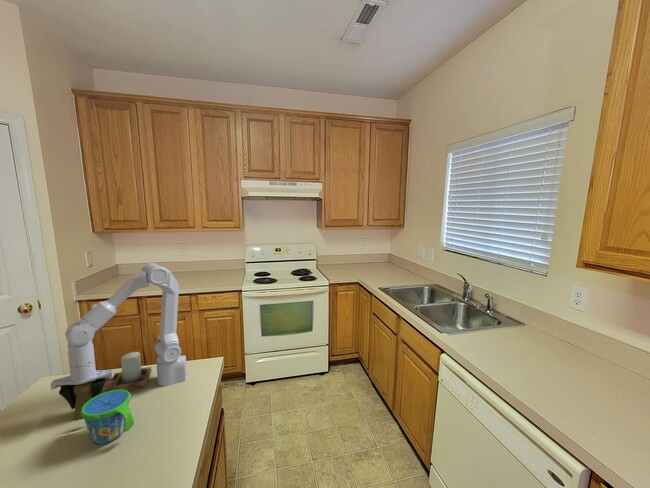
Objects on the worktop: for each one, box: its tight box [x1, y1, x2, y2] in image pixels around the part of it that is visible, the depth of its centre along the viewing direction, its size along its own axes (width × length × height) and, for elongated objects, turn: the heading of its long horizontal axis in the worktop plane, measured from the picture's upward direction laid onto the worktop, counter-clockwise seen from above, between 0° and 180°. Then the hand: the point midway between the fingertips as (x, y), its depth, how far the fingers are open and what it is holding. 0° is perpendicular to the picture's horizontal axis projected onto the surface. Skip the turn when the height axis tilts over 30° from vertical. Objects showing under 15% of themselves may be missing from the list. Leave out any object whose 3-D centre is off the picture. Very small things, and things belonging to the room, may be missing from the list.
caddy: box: [101, 366, 152, 394], centre depth 96 cm, size 19×10×3 cm, turn 113°
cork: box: [73, 381, 95, 420], centre depth 83 cm, size 6×6×11 cm
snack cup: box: [80, 389, 135, 446], centre depth 75 cm, size 16×10×10 cm
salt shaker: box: [120, 351, 142, 384], centre depth 98 cm, size 6×6×10 cm
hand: (86, 404), depth 83 cm, fingers open, 5 cm apart
